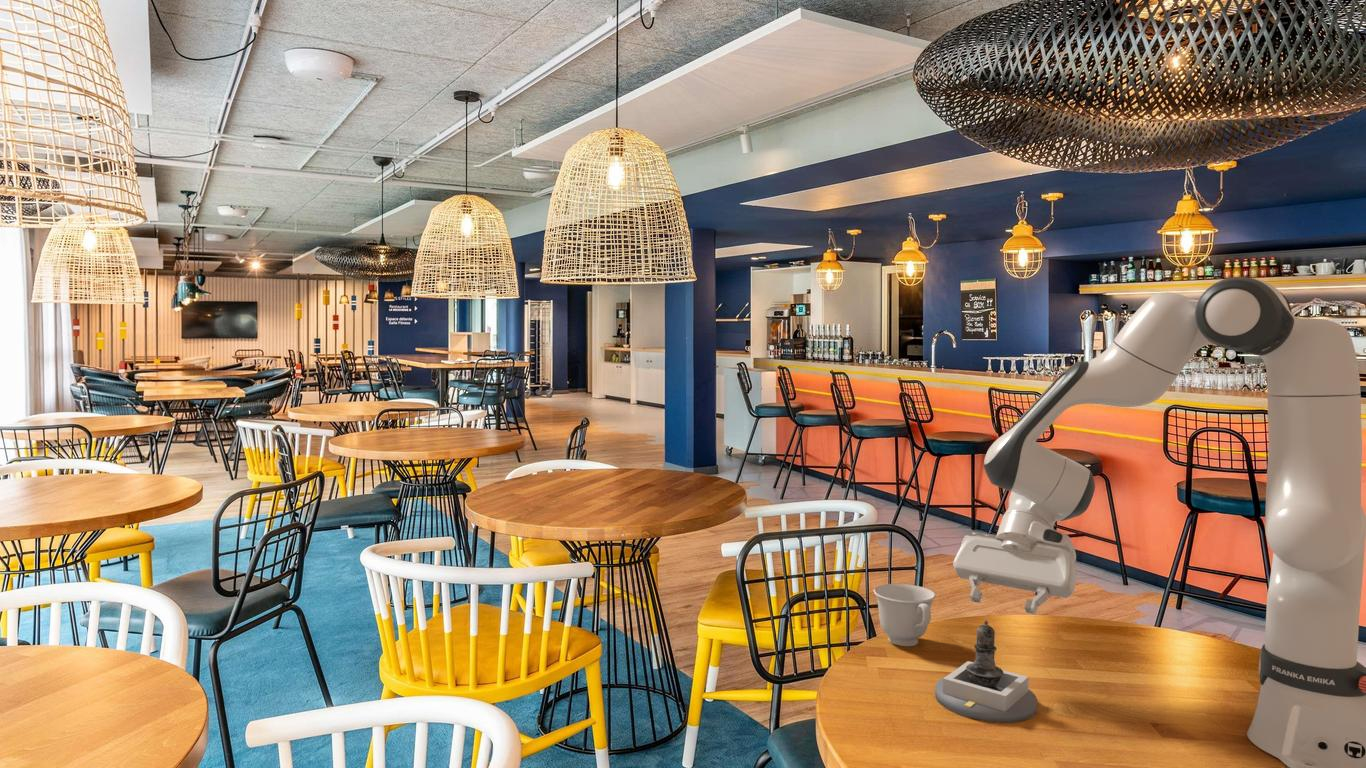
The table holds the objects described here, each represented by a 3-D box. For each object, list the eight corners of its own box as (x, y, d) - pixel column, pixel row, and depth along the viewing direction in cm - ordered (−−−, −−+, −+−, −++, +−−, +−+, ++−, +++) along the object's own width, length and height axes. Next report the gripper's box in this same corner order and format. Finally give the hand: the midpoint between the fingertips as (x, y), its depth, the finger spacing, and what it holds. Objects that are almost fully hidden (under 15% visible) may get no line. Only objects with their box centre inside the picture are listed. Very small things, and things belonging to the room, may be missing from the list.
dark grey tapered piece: (997, 684, 146) (999, 615, 145) (1006, 698, 140) (1009, 627, 139) (962, 682, 147) (964, 613, 146) (969, 696, 141) (972, 625, 140)
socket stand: (1050, 699, 143) (1051, 676, 143) (1016, 732, 131) (1017, 707, 131) (958, 674, 154) (959, 652, 154) (919, 702, 142) (919, 678, 142)
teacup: (898, 660, 160) (900, 608, 160) (861, 633, 175) (862, 585, 174) (955, 654, 163) (956, 603, 163) (914, 629, 178) (915, 581, 177)
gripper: (961, 520, 158) (938, 584, 151) (1079, 538, 144) (1059, 608, 138) (970, 540, 161) (948, 603, 154) (1086, 559, 148) (1067, 628, 141)
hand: (1001, 605), depth 146 cm, fingers open, 8 cm apart
